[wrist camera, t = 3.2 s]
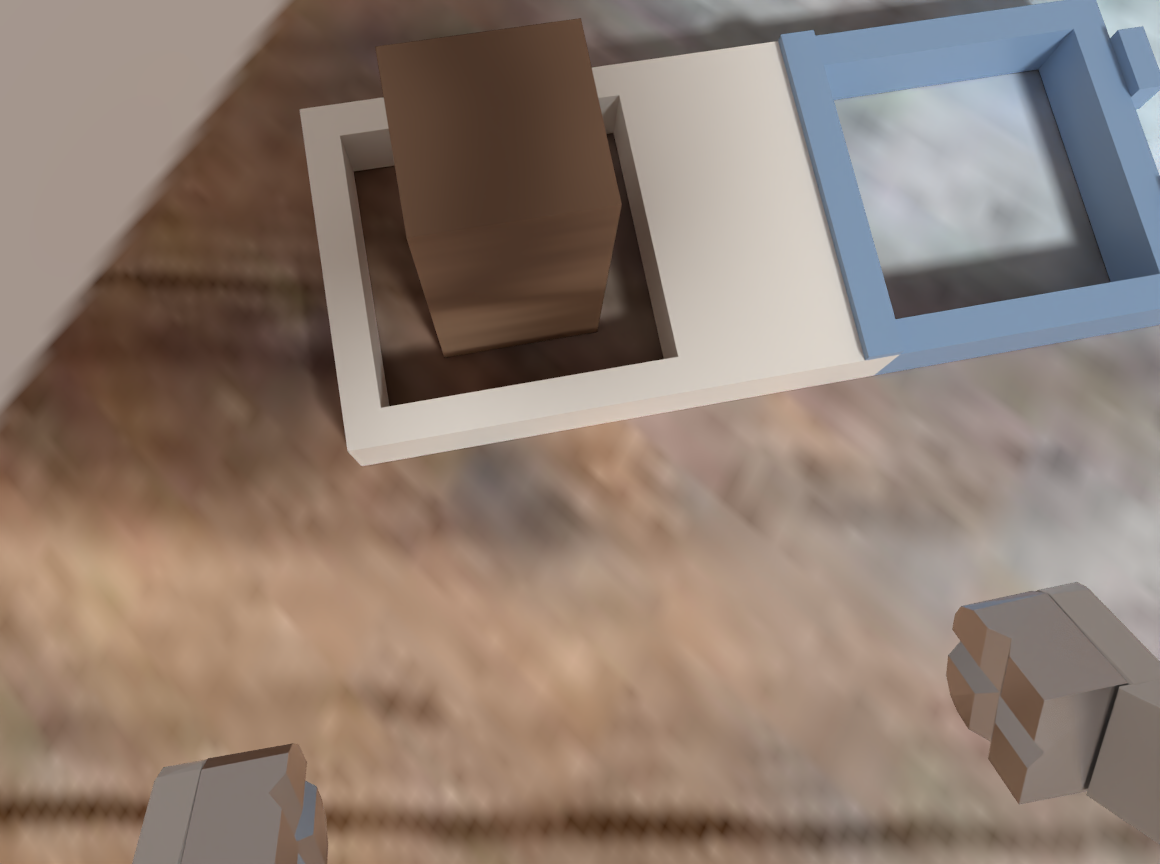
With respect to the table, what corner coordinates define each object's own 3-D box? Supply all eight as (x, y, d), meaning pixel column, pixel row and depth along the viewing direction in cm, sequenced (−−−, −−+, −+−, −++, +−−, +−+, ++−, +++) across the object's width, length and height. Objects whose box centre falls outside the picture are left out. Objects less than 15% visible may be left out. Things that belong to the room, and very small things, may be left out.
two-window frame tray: (1081, 34, 30) (1127, -17, 28) (1182, 320, 28) (1241, 290, 26) (316, 146, 28) (296, 101, 26) (361, 466, 26) (344, 448, 23)
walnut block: (568, 193, 28) (580, 18, 20) (597, 331, 27) (621, 204, 19) (420, 216, 28) (375, 46, 20) (444, 357, 27) (406, 238, 19)
